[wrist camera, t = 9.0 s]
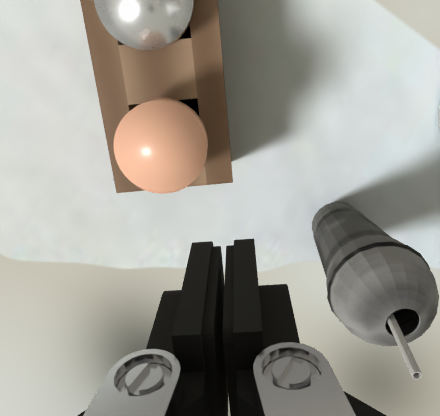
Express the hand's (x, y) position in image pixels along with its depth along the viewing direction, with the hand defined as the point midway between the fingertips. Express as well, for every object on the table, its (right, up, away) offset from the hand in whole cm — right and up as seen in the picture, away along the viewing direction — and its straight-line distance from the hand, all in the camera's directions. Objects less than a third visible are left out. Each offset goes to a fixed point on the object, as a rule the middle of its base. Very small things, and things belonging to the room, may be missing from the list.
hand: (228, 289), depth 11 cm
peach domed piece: (-4, +9, +23) cm, 25 cm away
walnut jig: (-5, +14, +24) cm, 28 cm away
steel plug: (-5, +18, +21) cm, 28 cm away
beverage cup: (+11, +1, +29) cm, 31 cm away
